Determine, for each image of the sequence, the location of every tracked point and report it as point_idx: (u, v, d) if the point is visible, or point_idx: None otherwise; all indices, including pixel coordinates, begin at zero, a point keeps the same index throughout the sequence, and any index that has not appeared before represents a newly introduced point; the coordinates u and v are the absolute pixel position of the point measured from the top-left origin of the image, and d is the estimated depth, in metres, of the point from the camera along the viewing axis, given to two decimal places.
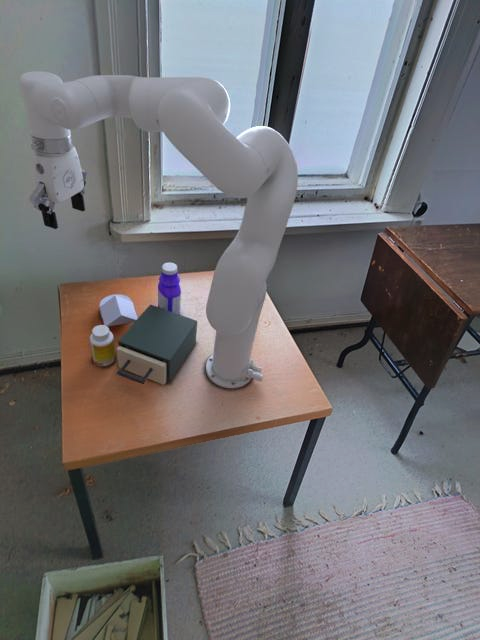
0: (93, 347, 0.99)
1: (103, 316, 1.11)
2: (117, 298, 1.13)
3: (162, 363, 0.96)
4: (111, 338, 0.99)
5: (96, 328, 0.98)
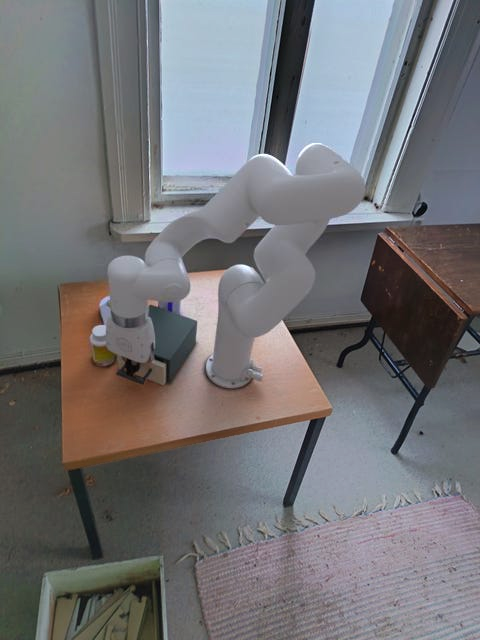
0: (93, 347, 0.99)
1: (103, 316, 1.11)
2: None
3: (162, 363, 0.96)
4: None
5: (96, 328, 0.98)
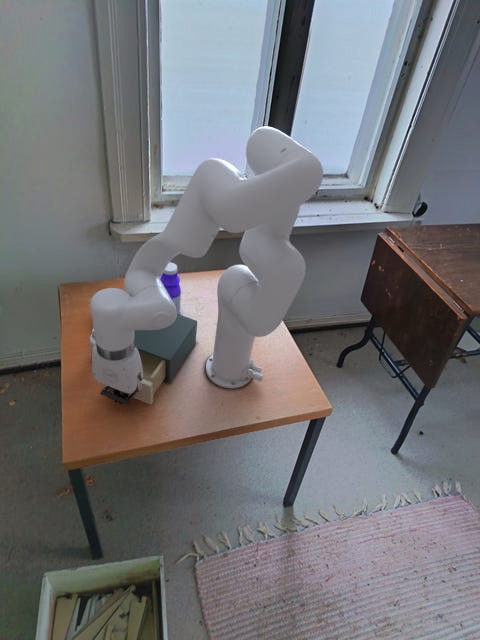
0: None
1: None
2: None
3: (148, 382, 0.91)
4: None
5: None
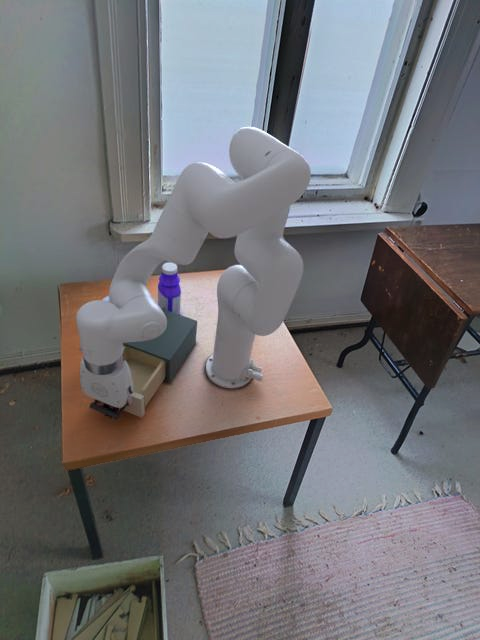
0: None
1: None
2: None
3: (139, 395, 0.88)
4: None
5: None
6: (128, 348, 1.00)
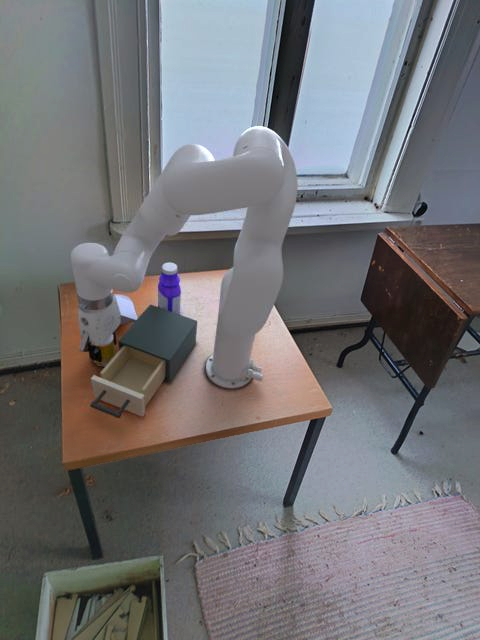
0: None
1: None
2: (117, 298, 1.13)
3: (140, 395, 0.89)
4: (111, 338, 0.99)
5: None
6: (129, 347, 1.01)
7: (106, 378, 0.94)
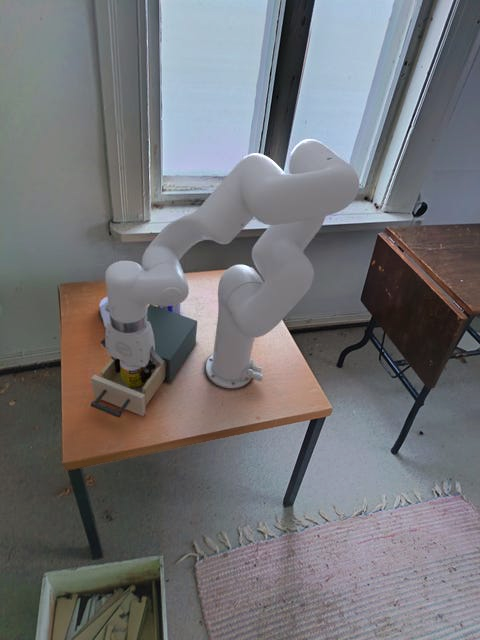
0: None
1: (103, 316, 1.11)
2: None
3: (140, 394, 0.89)
4: (128, 367, 0.91)
5: None
6: None
7: (106, 377, 0.94)
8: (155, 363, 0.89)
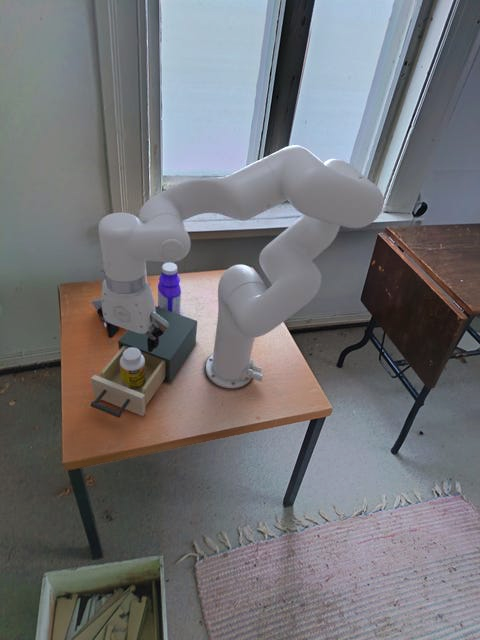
0: None
1: None
2: None
3: (140, 394, 0.89)
4: (128, 367, 0.91)
5: (135, 350, 0.92)
6: (129, 347, 1.01)
7: (106, 378, 0.94)
8: (160, 327, 0.82)
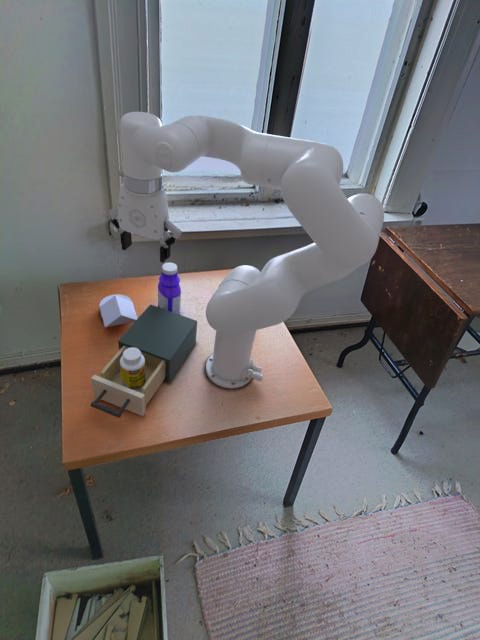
0: None
1: (103, 316, 1.11)
2: (117, 298, 1.13)
3: (140, 394, 0.89)
4: (128, 367, 0.91)
5: (135, 350, 0.92)
6: (129, 347, 1.01)
7: (106, 378, 0.94)
8: (173, 234, 0.86)
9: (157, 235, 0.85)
